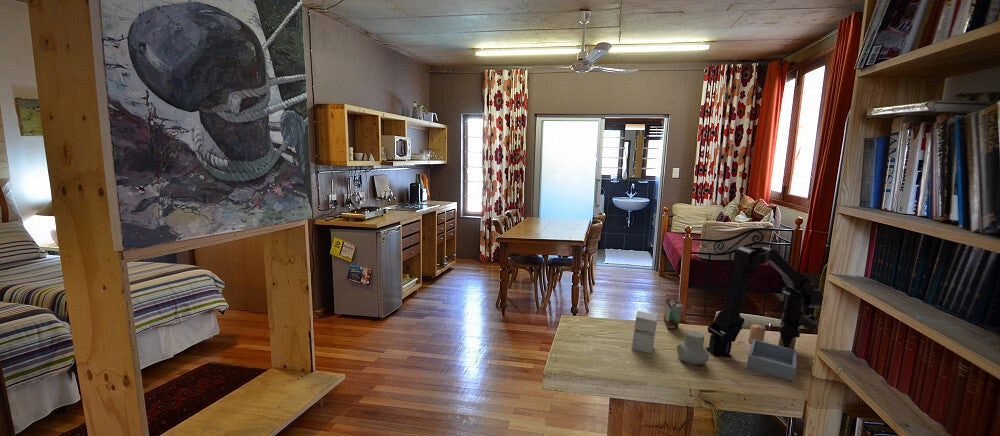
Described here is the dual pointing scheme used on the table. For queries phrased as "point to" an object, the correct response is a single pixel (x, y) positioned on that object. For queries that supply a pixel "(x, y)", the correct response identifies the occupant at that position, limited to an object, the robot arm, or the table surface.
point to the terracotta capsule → (756, 333)
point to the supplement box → (644, 332)
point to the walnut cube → (792, 344)
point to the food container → (672, 313)
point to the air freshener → (693, 349)
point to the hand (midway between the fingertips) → (786, 345)
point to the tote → (772, 360)
